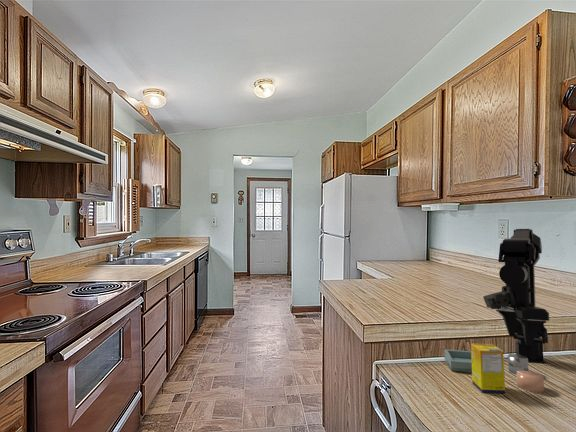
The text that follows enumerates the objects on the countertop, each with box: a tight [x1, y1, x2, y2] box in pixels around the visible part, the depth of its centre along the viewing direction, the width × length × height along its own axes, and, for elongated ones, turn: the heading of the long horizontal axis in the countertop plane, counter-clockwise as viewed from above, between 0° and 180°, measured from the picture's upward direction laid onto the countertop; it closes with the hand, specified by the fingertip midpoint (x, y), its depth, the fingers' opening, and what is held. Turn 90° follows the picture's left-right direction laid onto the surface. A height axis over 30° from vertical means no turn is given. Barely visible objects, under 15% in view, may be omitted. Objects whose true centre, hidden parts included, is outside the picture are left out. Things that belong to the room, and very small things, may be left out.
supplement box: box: [470, 343, 506, 394], centre depth 91 cm, size 6×6×11 cm
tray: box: [444, 348, 472, 373], centre depth 105 cm, size 11×11×3 cm
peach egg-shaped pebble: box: [516, 370, 545, 394], centre depth 90 cm, size 6×6×4 cm
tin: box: [507, 353, 530, 376], centre depth 101 cm, size 5×5×4 cm
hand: (519, 340), depth 93 cm, fingers open, 9 cm apart
